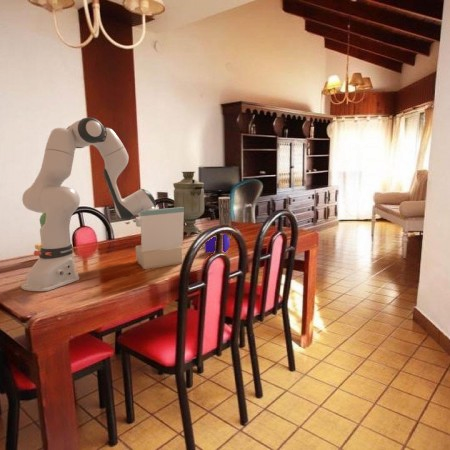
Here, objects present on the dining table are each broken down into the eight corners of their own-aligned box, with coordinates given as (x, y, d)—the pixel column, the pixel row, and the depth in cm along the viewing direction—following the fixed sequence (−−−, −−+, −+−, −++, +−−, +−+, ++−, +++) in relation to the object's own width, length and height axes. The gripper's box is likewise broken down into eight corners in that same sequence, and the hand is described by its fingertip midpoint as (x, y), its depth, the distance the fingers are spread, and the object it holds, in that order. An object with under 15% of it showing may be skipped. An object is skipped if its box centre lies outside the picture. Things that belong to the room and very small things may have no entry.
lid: (182, 245, 169) (182, 246, 168) (141, 250, 161) (141, 251, 160) (183, 206, 162) (184, 207, 161) (140, 210, 154) (141, 211, 153)
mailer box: (182, 263, 170) (181, 247, 169) (144, 269, 162) (143, 252, 161) (172, 256, 183) (171, 241, 182) (136, 261, 176) (135, 245, 174)
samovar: (163, 230, 249) (159, 172, 241) (200, 227, 256) (197, 170, 249) (170, 239, 221) (166, 173, 213) (211, 235, 228) (209, 171, 221)
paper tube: (231, 237, 221) (230, 196, 217) (230, 240, 214) (229, 198, 210) (220, 237, 222) (219, 197, 217) (219, 240, 215) (217, 198, 211)
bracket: (224, 253, 185) (224, 231, 183) (205, 252, 189) (204, 230, 187) (236, 245, 201) (236, 224, 199) (218, 244, 205) (217, 224, 203)
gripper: (131, 213, 168) (138, 217, 155) (173, 209, 176) (183, 213, 164) (132, 227, 169) (139, 232, 157) (174, 222, 178) (184, 226, 165)
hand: (162, 222), depth 161 cm, fingers closed, pressing on lid
